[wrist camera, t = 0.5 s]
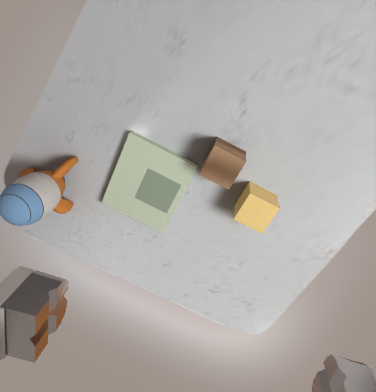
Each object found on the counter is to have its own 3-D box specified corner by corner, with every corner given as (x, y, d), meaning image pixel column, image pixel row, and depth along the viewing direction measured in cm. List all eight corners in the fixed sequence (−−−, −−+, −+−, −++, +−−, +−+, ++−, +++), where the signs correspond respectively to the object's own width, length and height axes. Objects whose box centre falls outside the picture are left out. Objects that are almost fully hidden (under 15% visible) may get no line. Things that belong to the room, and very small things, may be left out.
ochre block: (249, 181, 53) (250, 193, 48) (276, 194, 53) (279, 208, 48) (234, 205, 55) (233, 219, 50) (260, 218, 55) (262, 233, 51)
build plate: (131, 130, 52) (129, 132, 51) (198, 165, 53) (197, 167, 52) (103, 199, 58) (101, 203, 57) (164, 229, 59) (162, 233, 58)
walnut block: (217, 136, 50) (214, 145, 46) (245, 151, 51) (245, 161, 46) (202, 163, 53) (199, 174, 48) (230, 177, 53) (228, 189, 48)
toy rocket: (75, 142, 55) (45, 188, 43) (98, 194, 61) (78, 247, 48) (19, 156, 56) (-26, 204, 44) (47, 205, 62) (15, 261, 49)
